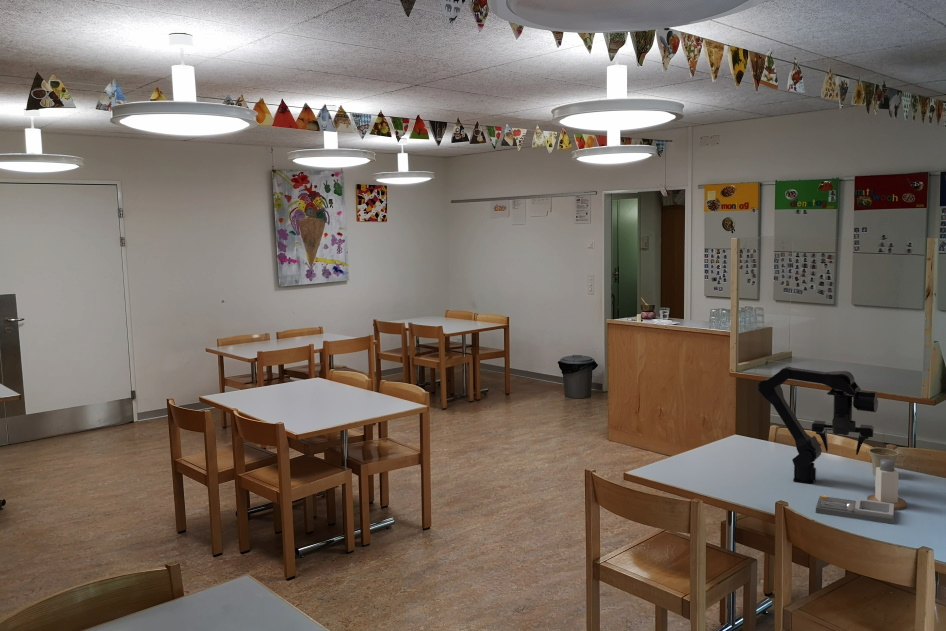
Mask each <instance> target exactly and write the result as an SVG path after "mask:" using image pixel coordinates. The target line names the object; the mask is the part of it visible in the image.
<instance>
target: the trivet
mask: <svg viewBox="0 0 946 631" xmlns="http://www.w3.org/2000/svg"><path fill="white" fill-rule="evenodd" d="M866 500H871V501H878V502H880V501H879V500H878V499H877V498H876V497H875V493H874V494H870V495H868V496H867V498H866ZM893 504H894V511H897V510H898V511H899V510H904V509H905V508H906V507H907V501H906V500H905V499H903V497H899V496H898V503H893Z"/></svg>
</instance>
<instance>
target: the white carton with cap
mask: <svg viewBox="0 0 946 631" xmlns="http://www.w3.org/2000/svg"><path fill="white" fill-rule="evenodd" d="M894 462H895V463H896V461H893V460H890V459H881V460H880V467H876V475H875V486H874V487H875V489H874V492H875V493H874V494H875V497H876V498H877V499H878V500H879V501H880V502H885V503H898V497H899V475H900V474H899V471H897V470H896V469H895V466H894Z"/></svg>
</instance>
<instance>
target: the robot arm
mask: <svg viewBox="0 0 946 631" xmlns="http://www.w3.org/2000/svg"><path fill="white" fill-rule="evenodd" d="M787 380H794V381H802V382H808V383H815V384H821V385H825V386H826V387H829V388H831V389H830V391H828V392H826V393H827V395H828V396H833V417H832V420H831V424H828V423H827V421H826V420H814V421H813V422H812V423H811V432H813V433H815V434H816V435H818V436H819V437H820V438H821V441H822V443H823V446H824V449H825V451H826V453H827V452H828V451H829V443H828V442H829V440H828V432H827V431H832V434H833V435H842V436H848V435H850V434H849V433H858V439H857V446H856V449H855V452H856V454H855V455H856V456H858V455H859V453H860V450H861V447H862V444H863V443H864V441H865V440H869V438H874V432H875V428H874V426H873V425H871V424H860V426H856V420H853V408H854V409H856V411H860V412H861V411H862V412H871V413H877V411H878V408H879V399H878V396H877V391H874V390H873V391H868V390H867V391H865V390H862V389H861V388H860V386H859V385H858V384H857V383H856V381H855V377H854V375H853V374H852V373H851V372H850V371H848V370H837V371H835V370H834V371H819V370H812V369H805V368H796V367H791V366H784V367H782V368H781V369H780V371H778V372H777V373H776V374H774V375H772V376H771V377H767V378H765V379H763V380H761V381H760V382H759V383H758V386H757V391H758V393H759V394H760V395H761V396H762V397H763V398H764V399H765V400H766V401H767V402H769V403H770V404H771V405H772V406H773V407H774V408H773V409H775V411H776V413H777V414H778V416H779V418H780V419H781V421H782V422H783V424H784V425H785V427H786V428H787V430H788V431H789V433H790V435H791V436H792V438H793V440H794V443H795V448H796V451H797V453H798V454H797V455H796V456H794V458H792V459H791V460H792V463H793V466H794V467H793V468H794V469H793V480H792V481H793V482H797V483H803V484H804V483H805V484H811V485H812V484H814V482H815V481H816V480H817V467H815V462H816V460H817V459H819V457H820V456H822V451H823V449H822V444H821V443H819V440H818V439H817V436H816V435H812V436H811V435H809V434H808V433H807V432H806V431H805V429H804V428H803V425H802V424H801V423H800V421H799V420H798V418H797V416H796V415H795V413H794V412H793V410H792V409H791V407H790V406H789V404H788V403H787V400H786V399H785V396H784V391H783V388H782V386H781V385H783V383H785V382H786V381H787Z"/></svg>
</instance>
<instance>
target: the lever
mask: <svg viewBox="0 0 946 631" xmlns="http://www.w3.org/2000/svg"><path fill="white" fill-rule="evenodd" d="M817 503H818V506H821V504H827V505H834V506H841V507H847V511H848V512H853V503H847V504H844V503H837V502H829V501H822V500H819V499H818V501H817Z"/></svg>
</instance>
